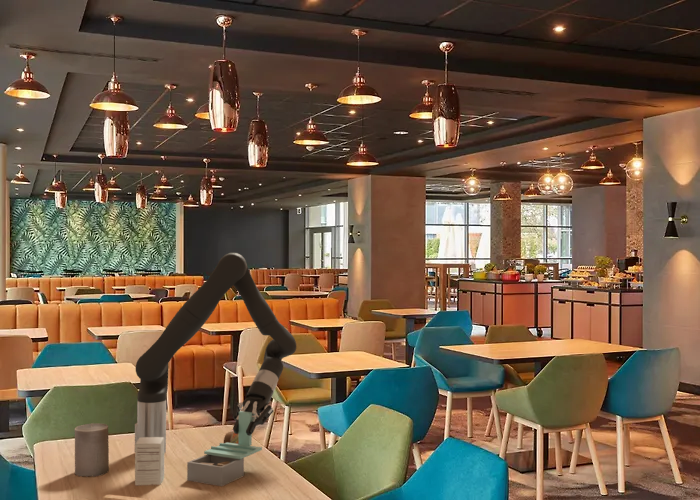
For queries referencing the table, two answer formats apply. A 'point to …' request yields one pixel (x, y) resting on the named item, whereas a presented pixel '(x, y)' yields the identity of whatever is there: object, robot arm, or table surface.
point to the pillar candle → (91, 449)
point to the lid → (244, 442)
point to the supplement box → (149, 461)
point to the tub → (214, 470)
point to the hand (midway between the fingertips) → (241, 433)
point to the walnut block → (223, 463)
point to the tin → (231, 437)
